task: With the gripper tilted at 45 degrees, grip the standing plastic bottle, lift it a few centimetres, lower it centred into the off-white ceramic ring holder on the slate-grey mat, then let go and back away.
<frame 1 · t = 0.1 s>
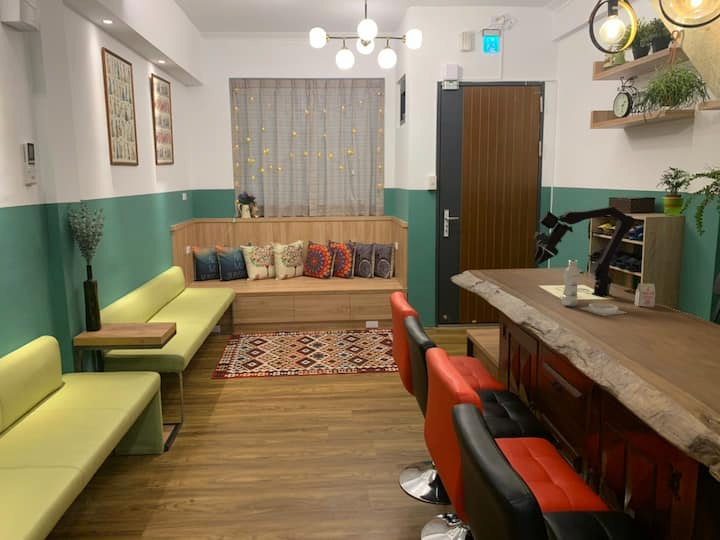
hand: (536, 262, 272), 15 cm above the table, tool tilted 35°, fingers open, 9 cm apart
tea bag: (644, 306, 252), on the table
bottle holder: (602, 310, 242), on the table
plastic bottle: (569, 306, 249), on the table
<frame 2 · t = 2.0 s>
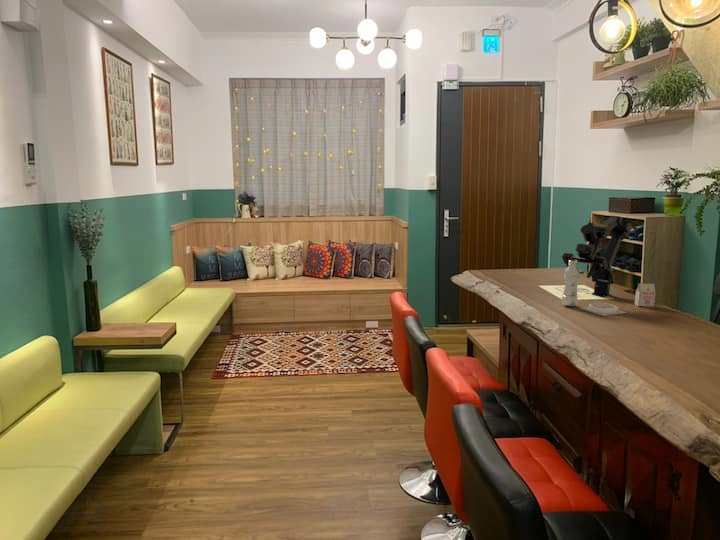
hand: (577, 275, 250), 13 cm above the table, tool tilted 45°, fingers open, 9 cm apart
nothing on the table moved.
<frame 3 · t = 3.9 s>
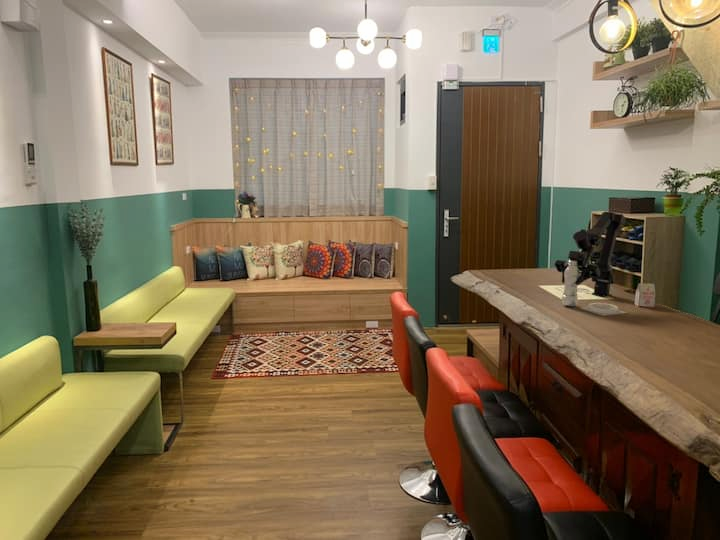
hand: (569, 283, 246), 10 cm above the table, tool tilted 45°, fingers closed on plastic bottle, 6 cm apart
plastic bottle: (569, 306, 249), on the table, touching gripper
everything else where it was.
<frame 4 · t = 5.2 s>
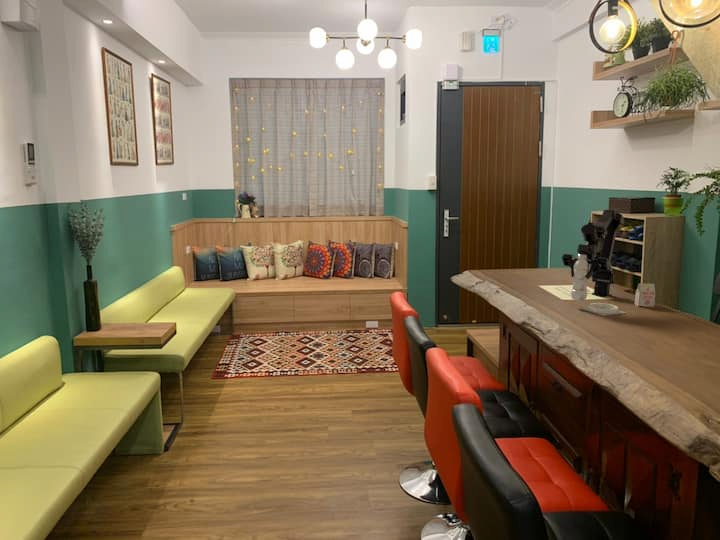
hand: (579, 277, 243), 13 cm above the table, tool tilted 45°, fingers closed on plastic bottle, 6 cm apart
plastic bottle: (578, 300, 246), point 3 cm above the table, touching gripper
everything else where it was.
when the fingers open (11 cm above the table, at t = 6.9 s): plastic bottle stays where it is, resting on bottle holder.
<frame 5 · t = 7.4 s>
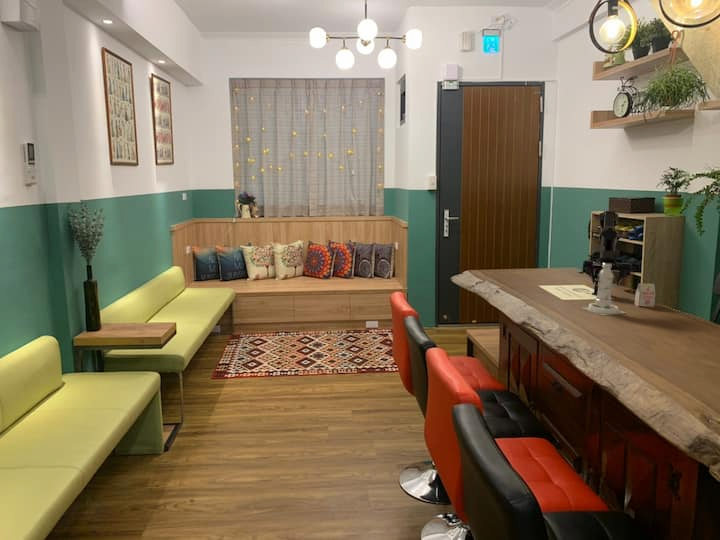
hand: (605, 284, 238), 12 cm above the table, tool tilted 45°, fingers open, 9 cm apart
plastic bottle: (602, 310, 242), resting on bottle holder
everything else where it was.
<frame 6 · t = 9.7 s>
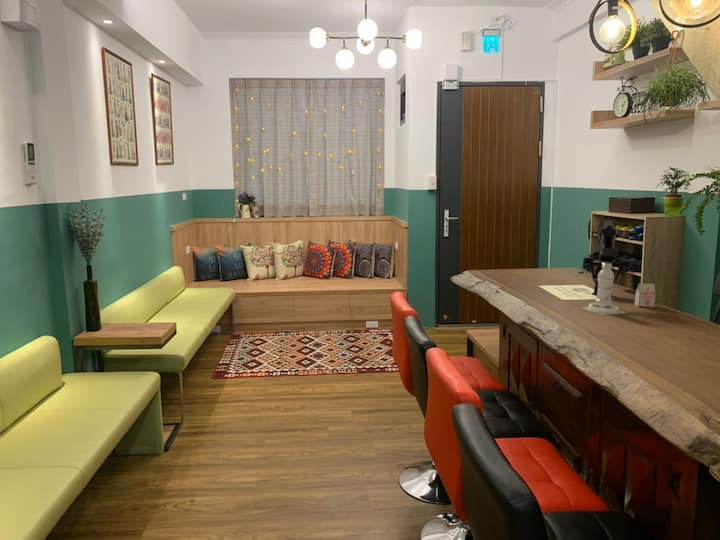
hand: (604, 280, 247), 12 cm above the table, tool tilted 45°, fingers open, 9 cm apart
nothing on the table moved.
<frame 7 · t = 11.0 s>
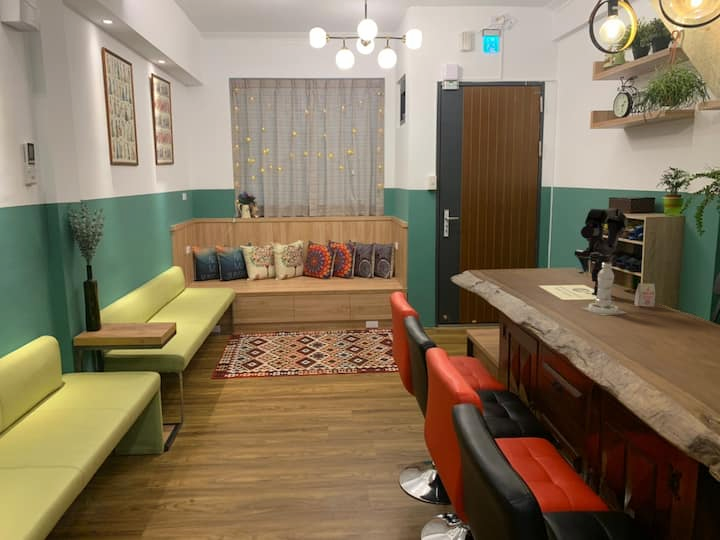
hand: (592, 271, 261), 13 cm above the table, tool pointing down, fingers open, 9 cm apart
nothing on the table moved.
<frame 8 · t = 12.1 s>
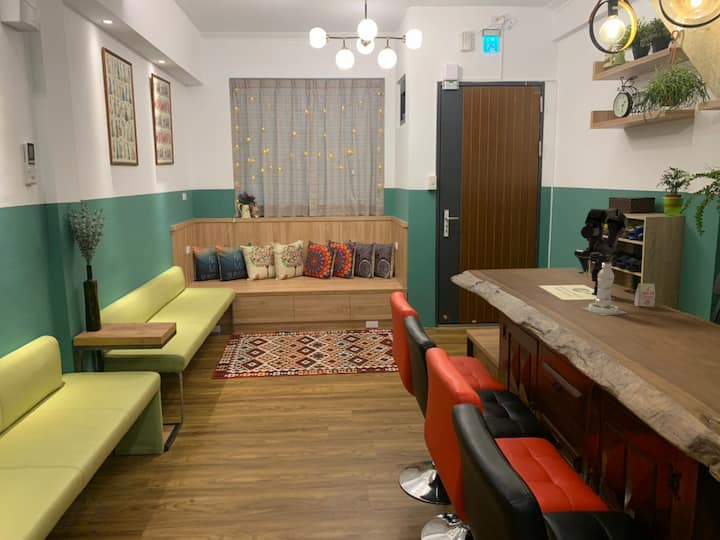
hand: (592, 271, 261), 13 cm above the table, tool pointing down, fingers open, 9 cm apart
nothing on the table moved.
at the end: plastic bottle 0.2 cm from the bottle holder (horizontally); plastic bottle tilted 0°; the gripper is holding nothing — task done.
